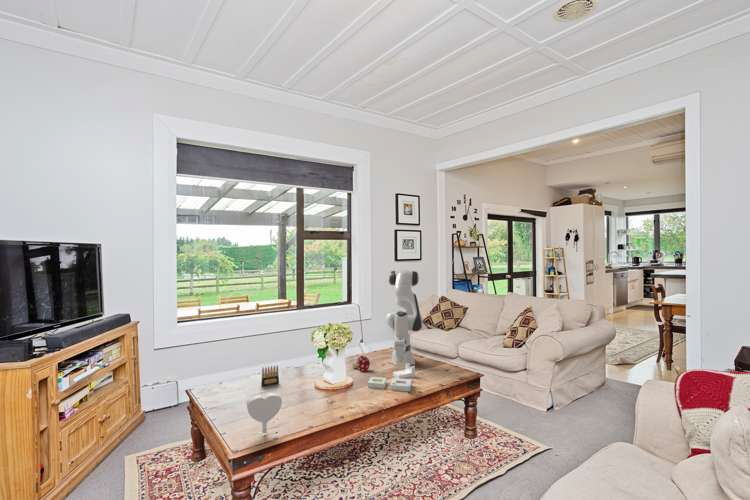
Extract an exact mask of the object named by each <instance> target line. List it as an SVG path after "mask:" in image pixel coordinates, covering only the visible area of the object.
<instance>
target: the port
mask: <svg viewBox="0 0 750 500" xmlns="http://www.w3.org/2000/svg"><path fill="white" fill-rule="evenodd" d="M412 383H413V382H412V378H410V379H409V378H401V379H400V378H396V377H392V379H391V382H390V384H389V390H390V391H399V392H407V393H408V394H410V393H411V390H412V387H413V386H412V385H413V384H412Z"/></svg>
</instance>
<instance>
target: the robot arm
mask: <svg viewBox="0 0 750 500" xmlns="http://www.w3.org/2000/svg"><path fill="white" fill-rule="evenodd" d="M387 276H388V277H387V281H388V283H389V285H391V286H394V293H395V304H396V305H397V306H398V307H400V308H402V311H392V312H389V313H387V314H386V316H385V322H386V324H387V326H389V328H391V329H392V331H393V332H394V333H393V335H394V336H393V339H394V340H393V343H394V350H393V351H392V354H391V355H392V359H391V360H390V361H389V363H390V364H392V365H395V366H397V358H399V362H402V357H403V354H404V352H405V353H406V364H408V363H409V364H410V366H415V365H416V361H415V358H414V357H413V352H412V351H411V349H412V348H411V347H412V346H411V334H410V333H409V331H412V332H419V331H420V330H422V328H423V319H422V317H421V316H422V315H421V313H420V312H421V311H420V309H419V308H420V307H419V302H418V298H417V295H416V294H415V293H414V292H413V291H412V287H414V286H416V285H418V283H419V281H420V276H419V273H418V272H417V271H415V270H391V271H390V272H389V273H388V275H387Z"/></svg>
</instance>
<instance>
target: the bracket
mask: <svg viewBox="0 0 750 500" xmlns="http://www.w3.org/2000/svg"><path fill="white" fill-rule="evenodd" d="M392 376H393V378H400V379H407V378H410V377H411V379H412V378H415V377H416V366H415V365H410V364H409V363H408V364H406V367H405V369H402V370H398V371H393V372H392Z"/></svg>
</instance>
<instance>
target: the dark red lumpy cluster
mask: <svg viewBox="0 0 750 500" xmlns="http://www.w3.org/2000/svg"><path fill="white" fill-rule="evenodd" d="M370 366H371V362H370V359H369V358H368V357H367V356H365V355H360V356H359V357H358V358H357V359H356V361H354V362H353V363H352V368H353V369H357V370H359V371H360V372H363V373H365V372H367V371H368V370H369V368H370Z"/></svg>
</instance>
